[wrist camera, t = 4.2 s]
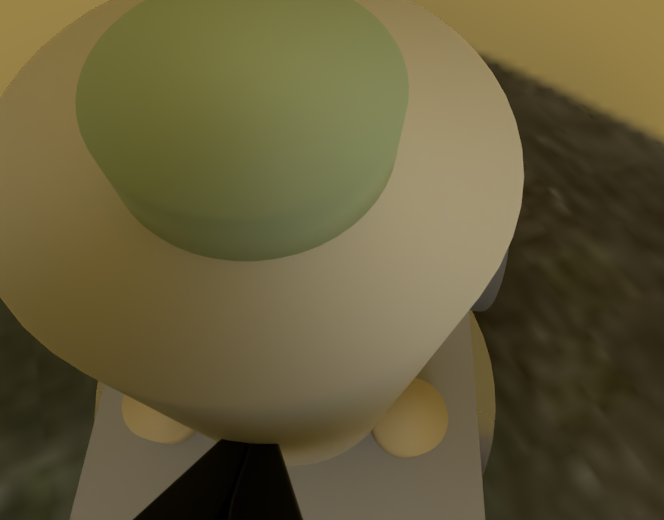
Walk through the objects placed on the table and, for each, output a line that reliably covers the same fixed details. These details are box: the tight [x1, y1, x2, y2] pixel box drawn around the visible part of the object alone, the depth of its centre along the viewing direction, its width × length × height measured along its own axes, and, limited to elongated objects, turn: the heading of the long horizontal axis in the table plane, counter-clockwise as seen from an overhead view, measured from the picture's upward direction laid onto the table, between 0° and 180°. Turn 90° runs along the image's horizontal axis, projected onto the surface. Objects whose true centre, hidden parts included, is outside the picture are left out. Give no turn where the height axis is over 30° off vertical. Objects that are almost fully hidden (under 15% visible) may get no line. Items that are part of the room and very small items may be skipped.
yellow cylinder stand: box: [0, 0, 524, 520], centre depth 10 cm, size 10×10×11 cm
